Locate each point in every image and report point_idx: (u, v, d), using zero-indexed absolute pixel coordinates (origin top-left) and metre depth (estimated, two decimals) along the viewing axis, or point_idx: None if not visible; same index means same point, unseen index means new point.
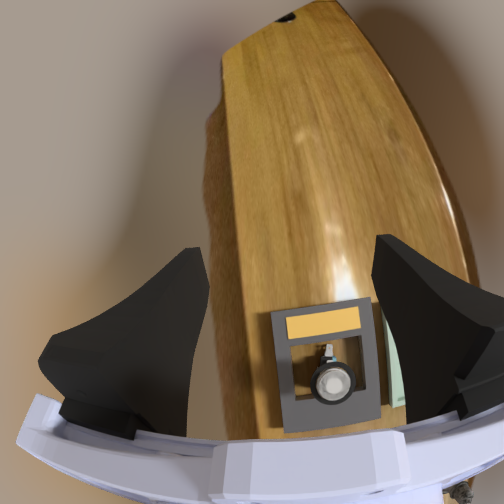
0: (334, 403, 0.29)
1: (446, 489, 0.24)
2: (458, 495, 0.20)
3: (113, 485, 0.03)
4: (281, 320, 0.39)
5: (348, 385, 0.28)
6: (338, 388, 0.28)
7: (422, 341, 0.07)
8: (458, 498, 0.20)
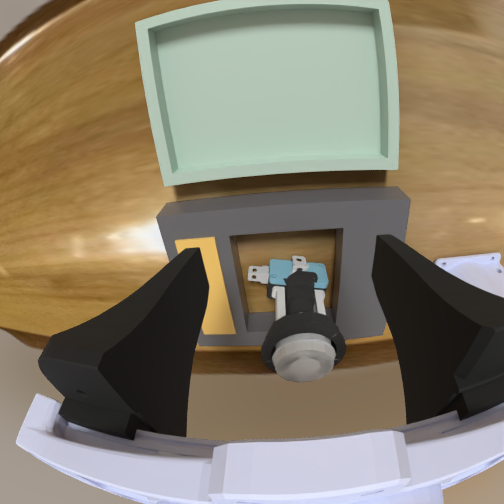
0: (342, 351, 0.17)
1: None
2: None
3: (113, 485, 0.03)
4: (208, 337, 0.26)
5: (309, 351, 0.15)
6: (311, 362, 0.16)
7: (422, 341, 0.07)
8: None
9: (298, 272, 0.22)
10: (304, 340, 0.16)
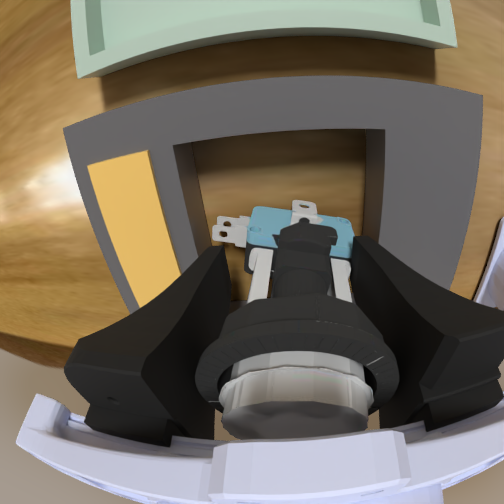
0: (388, 393, 0.06)
1: None
2: None
3: (113, 485, 0.03)
4: None
5: (307, 404, 0.05)
6: (312, 425, 0.06)
7: (392, 346, 0.07)
8: None
9: (301, 225, 0.12)
10: (296, 370, 0.06)
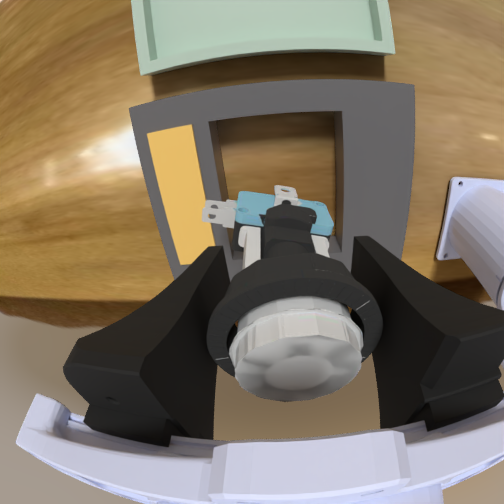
0: (374, 340, 0.08)
1: None
2: None
3: (113, 485, 0.03)
4: None
5: (314, 339, 0.06)
6: (315, 365, 0.07)
7: (393, 346, 0.07)
8: None
9: (284, 206, 0.13)
10: (300, 313, 0.07)
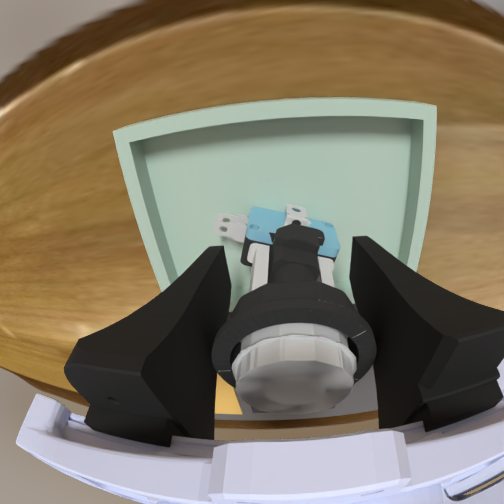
0: (367, 365, 0.09)
1: None
2: None
3: (113, 485, 0.03)
4: (217, 414, 0.26)
5: (311, 363, 0.07)
6: (310, 385, 0.08)
7: (391, 346, 0.07)
8: None
9: (294, 226, 0.14)
10: (301, 338, 0.07)
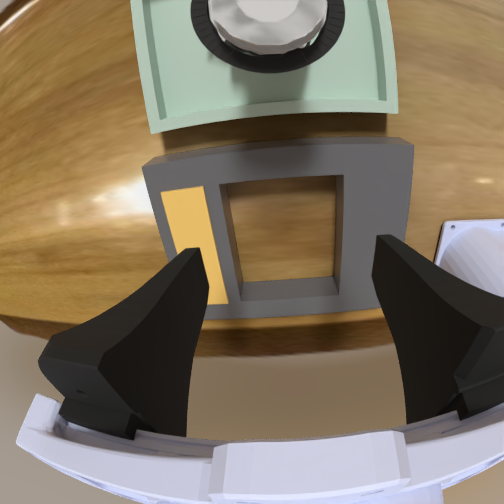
0: (340, 12, 0.07)
1: None
2: None
3: (113, 485, 0.03)
4: None
5: None
6: None
7: (422, 341, 0.07)
8: None
9: None
10: None
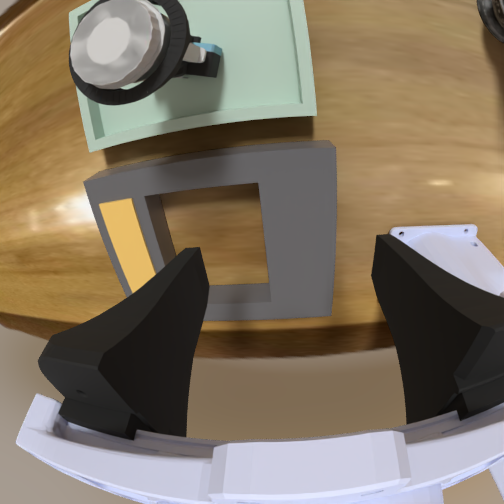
0: (181, 31, 0.08)
1: None
2: None
3: (113, 485, 0.03)
4: None
5: (114, 1, 0.06)
6: (117, 26, 0.07)
7: (422, 341, 0.07)
8: None
9: None
10: None
